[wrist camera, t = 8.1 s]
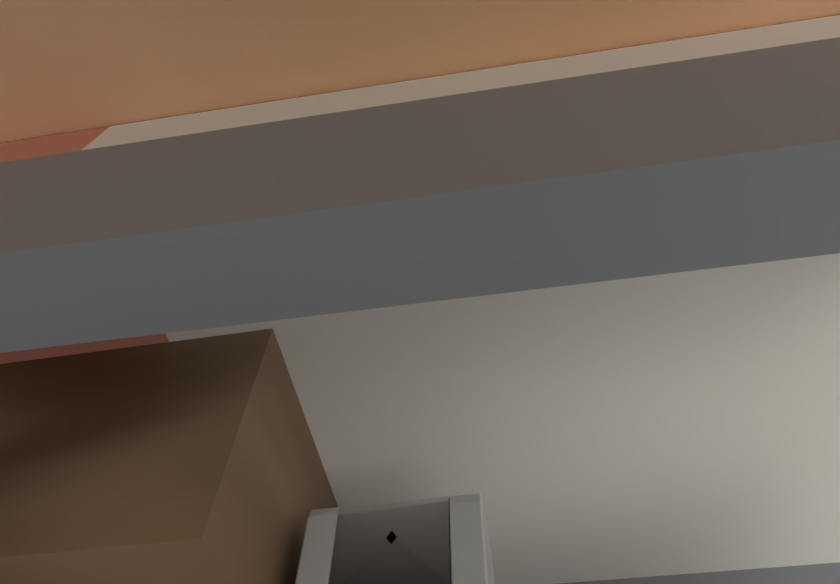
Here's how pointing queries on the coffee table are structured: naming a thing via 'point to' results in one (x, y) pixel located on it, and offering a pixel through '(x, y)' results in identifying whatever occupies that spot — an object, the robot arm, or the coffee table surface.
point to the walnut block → (156, 465)
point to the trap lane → (500, 290)
